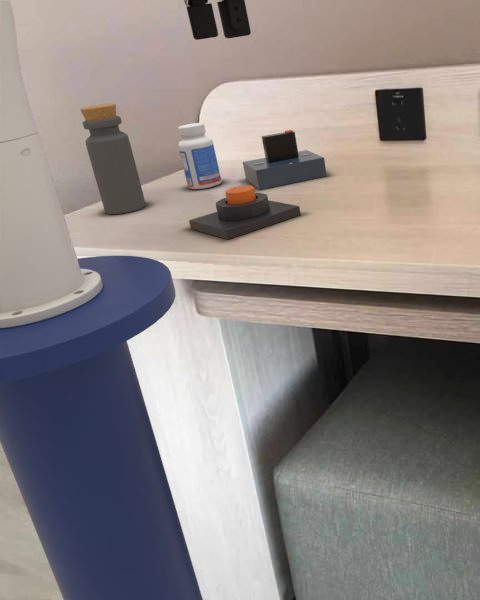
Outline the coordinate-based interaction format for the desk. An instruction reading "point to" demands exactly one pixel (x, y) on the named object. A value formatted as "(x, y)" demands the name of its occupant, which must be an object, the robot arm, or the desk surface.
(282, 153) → the black toggle lever
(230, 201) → the switch
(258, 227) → the switch base
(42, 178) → the robot arm
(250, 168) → the panel
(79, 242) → the desk surface
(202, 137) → the pill bottle
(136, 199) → the bottle
